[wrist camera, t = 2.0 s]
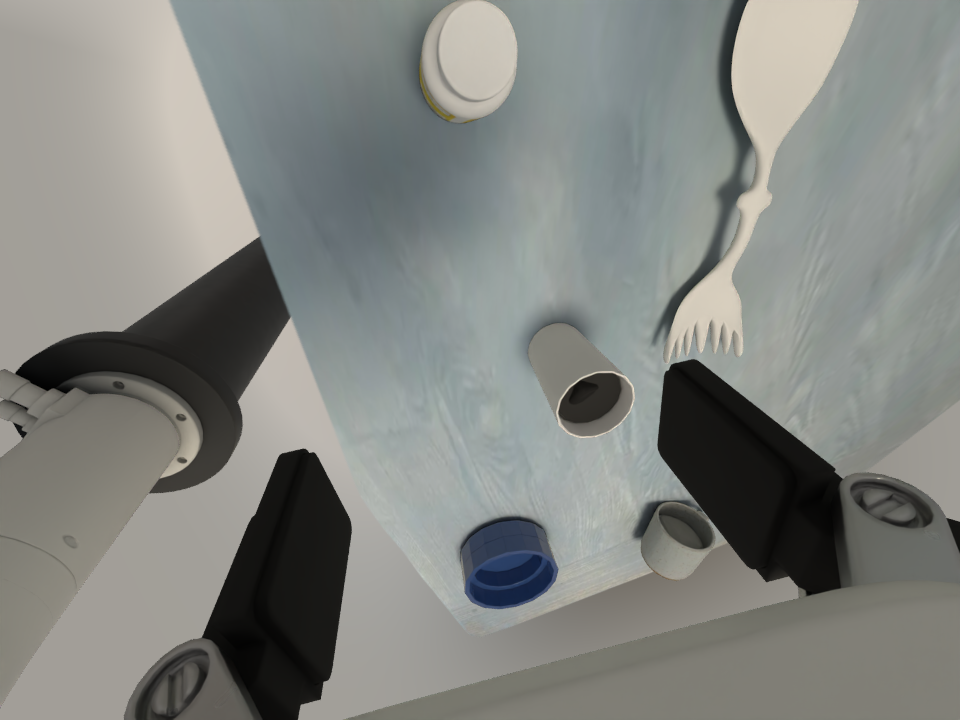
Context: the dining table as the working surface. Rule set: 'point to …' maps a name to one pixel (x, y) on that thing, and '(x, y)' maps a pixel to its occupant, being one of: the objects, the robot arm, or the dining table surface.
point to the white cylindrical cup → (579, 382)
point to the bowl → (507, 565)
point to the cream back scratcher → (762, 138)
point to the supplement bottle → (468, 61)
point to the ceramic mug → (676, 540)
